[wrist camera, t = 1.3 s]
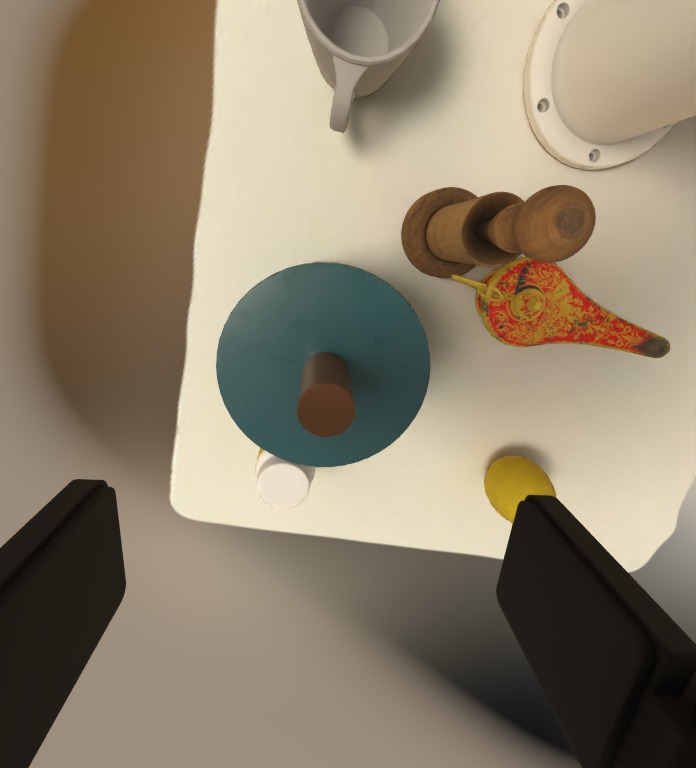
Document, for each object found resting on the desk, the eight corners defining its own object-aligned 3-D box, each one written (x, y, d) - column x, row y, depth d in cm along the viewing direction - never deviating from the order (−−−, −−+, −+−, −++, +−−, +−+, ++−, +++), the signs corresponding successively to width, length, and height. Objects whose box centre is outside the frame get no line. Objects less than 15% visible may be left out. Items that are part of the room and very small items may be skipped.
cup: (423, 3, 27) (465, -99, 19) (383, 162, 30) (405, 132, 22) (313, -37, 26) (310, -162, 18) (284, 132, 29) (270, 90, 21)
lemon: (502, 498, 41) (542, 555, 34) (461, 473, 40) (493, 526, 32) (538, 458, 40) (588, 508, 32) (497, 431, 39) (539, 476, 31)
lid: (219, 252, 20) (176, 254, 14) (439, 271, 21) (486, 281, 15) (223, 453, 23) (190, 522, 18) (410, 461, 24) (438, 529, 18)
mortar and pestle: (386, 252, 33) (457, 260, 16) (426, 174, 31) (554, 86, 14) (454, 289, 34) (587, 334, 17) (496, 216, 32) (691, 183, 15)
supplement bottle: (254, 435, 37) (236, 486, 29) (290, 402, 36) (281, 446, 28) (291, 467, 39) (283, 524, 31) (326, 436, 38) (328, 486, 30)
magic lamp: (590, 368, 37) (695, 415, 27) (411, 309, 34) (451, 337, 24) (628, 296, 35) (757, 317, 25) (442, 228, 32) (499, 220, 22)
